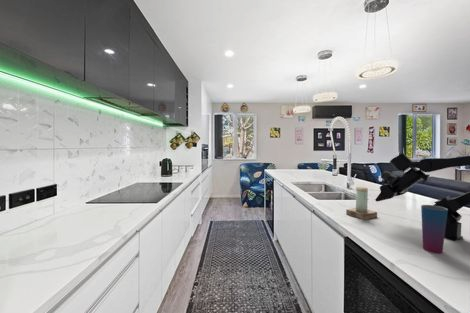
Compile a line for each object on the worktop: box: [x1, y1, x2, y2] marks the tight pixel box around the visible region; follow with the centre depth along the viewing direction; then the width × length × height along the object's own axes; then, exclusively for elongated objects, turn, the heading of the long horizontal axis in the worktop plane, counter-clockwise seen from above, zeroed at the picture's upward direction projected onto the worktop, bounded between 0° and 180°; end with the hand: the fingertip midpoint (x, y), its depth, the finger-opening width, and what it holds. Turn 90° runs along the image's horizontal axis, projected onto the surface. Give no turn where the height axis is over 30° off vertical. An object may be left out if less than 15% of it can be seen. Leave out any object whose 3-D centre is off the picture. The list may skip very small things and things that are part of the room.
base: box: [345, 207, 378, 220], centre depth 115 cm, size 10×10×2 cm
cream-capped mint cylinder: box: [355, 186, 369, 212], centre depth 114 cm, size 5×5×12 cm
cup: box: [420, 204, 448, 254], centre depth 76 cm, size 7×7×15 cm
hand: (380, 199), depth 107 cm, fingers open, 9 cm apart
